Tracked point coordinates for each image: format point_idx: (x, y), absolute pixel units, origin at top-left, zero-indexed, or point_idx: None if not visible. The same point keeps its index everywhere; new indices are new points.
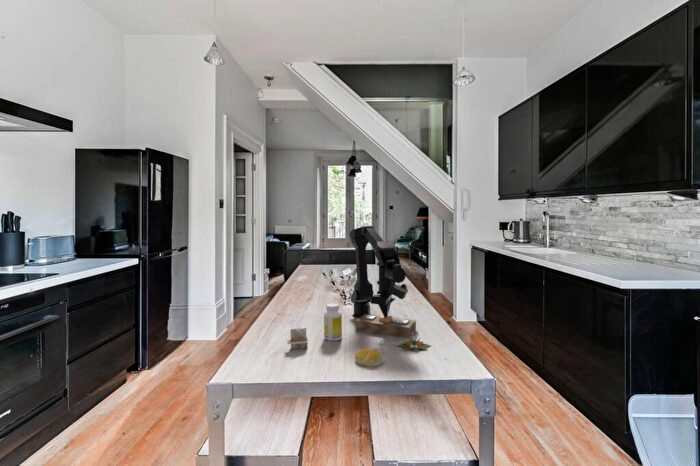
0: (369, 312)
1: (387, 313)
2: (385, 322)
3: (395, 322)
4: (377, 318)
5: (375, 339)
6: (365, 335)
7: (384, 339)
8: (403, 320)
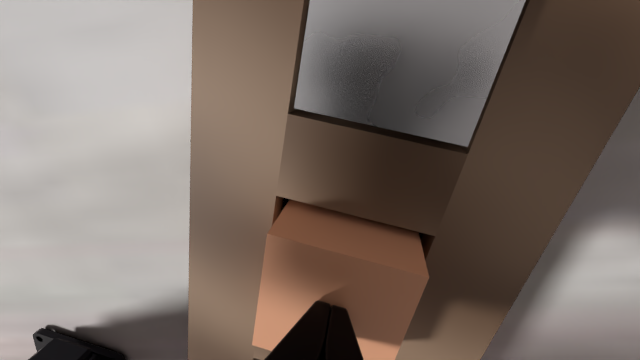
0: (51, 353)
1: (336, 347)
2: None
3: (403, 154)
4: None
5: (627, 288)
6: (508, 355)
7: (635, 213)
8: (364, 17)
